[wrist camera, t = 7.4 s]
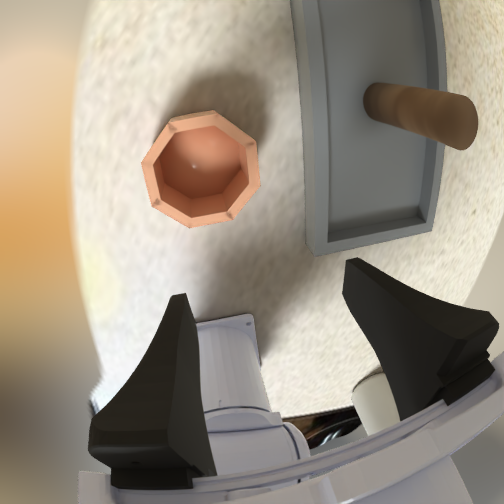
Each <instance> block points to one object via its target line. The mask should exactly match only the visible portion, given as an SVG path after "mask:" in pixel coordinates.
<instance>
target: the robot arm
mask: <svg viewBox="0 0 504 504" xmlns="http://www.w3.org/2000/svg"><path fill="white" fill-rule="evenodd" d="M342 295H343V297H344V299H345V301H346V304H347V306H348V308H349V310H350V312H351V314H352V315H353V317H354V318H355V320H356V322H357V323H358V325H359V326H360V328H361V330H362V331H363V333H364V334H365V336H366V338H367V339H368V341H369V342H370V344H371V346H372V347H373V349H374V351H375V353H376V355H377V357H378V359H379V361H380V364H381V366H382V368H383V370H384V373H385V375H386V378H387V380H388V383H389V386H390V389H391V391H392V394H393V397H394V400H395V404H396V407H397V411H398V414H399V418H400V422H399V423H396V424H394V425H392V426H390V427H388V428H386V429H383V430H381V431H379V432H377V433H374V434H372V435H369V436H367V437H365V438H362V439H360V440H357V441H354V442H352V443H349V444H346V445H344V446H341V447H338V448H335V449H332V450H329V451H326V452H323V453H320V454H317V455H313V456H310V451H309V447H308V444H307V442H306V440H305V438H304V436H303V434H302V433H301V432H300V431H299V430H298V429H297V428H296V427H295V426H294V425H293V424H291V423H289V422H284V423H283V422H282V419H281V415H280V413H279V412H272V411H271V407H270V404H269V400H268V397H267V393H266V389H265V386H264V382H263V378H262V375H261V367H260V360H259V353H258V346H257V339H256V332H255V325H254V318H253V315H252V314H243V315H238V316H233V317H228V318H223V319H218V320H213V321H207V322H202V323H195V320H194V317H193V314H192V311H191V308H190V305H189V301H188V298H187V295H186V293H183V294H178V295H172V296H171V298H170V300H169V303H168V306H167V308H166V311H165V313H164V316H163V318H162V321H161V323H160V325H159V327H158V329H157V332H156V334H155V336H154V338H153V340H152V342H151V344H150V346H149V348H148V349H147V351H146V353H145V355H144V356H143V358H142V360H141V361H140V363H139V365H138V366H137V368H136V369H135V371H134V372H133V373H132V375H131V376H130V378H129V379H128V380H127V382H126V383H125V384H124V386H123V387H122V388H121V389H120V390H119V391H118V393H117V394H116V395H115V396H114V397H113V398H112V400H111V401H110V402H109V403H108V404H107V405H106V406H105V407H104V408H103V409H102V410H100V411H99V412H98V413H97V414H96V415H95V416H94V417H93V418H92V420H91V425H90V430H89V442H88V451H89V453H90V454H91V456H93V457H94V458H95V459H97V460H98V461H100V462H102V463H104V464H105V465H107V466H108V467H110V468H111V475H109V474H106V473H99V472H88V471H79V475H78V476H79V477H78V478H79V479H78V504H473V502H472V500H471V498H470V495H469V493H468V491H467V489H466V487H465V485H464V483H463V481H462V479H461V477H460V475H459V472H458V471H457V468H456V466H455V464H454V463H453V461H452V459H451V457H450V455H451V454H453V453H454V452H455V451H457V450H458V449H460V448H461V447H463V446H464V445H465V444H466V443H468V442H469V441H471V440H472V439H473V438H475V437H476V436H477V435H478V434H480V433H481V432H482V431H483V430H485V429H486V428H487V427H488V426H489V425H491V424H492V423H493V422H494V421H495V420H496V419H498V418H499V417H500V416H501V415H502V414H503V413H504V352H502V353H501V354H500V355H499V356H497V357H496V358H495V359H494V360H493V361H492V362H491V363H490V361H489V360H488V358H489V356H490V354H489V353H488V352H487V348H488V347H489V345H490V344H491V342H492V341H493V339H494V337H495V336H496V334H497V331H498V329H499V323H498V322H497V321H496V319H495V318H494V317H493V316H492V315H491V314H490V312H488V311H482V310H476V309H470V308H466V307H462V306H458V305H454V304H451V303H448V302H445V301H442V300H439V299H436V298H433V297H431V296H429V295H426V294H424V293H422V292H419V291H417V290H415V289H413V288H411V287H409V286H407V285H405V284H403V283H402V282H400V281H398V280H396V279H394V278H393V277H391V276H389V275H387V274H386V273H384V272H382V271H381V270H379V269H377V268H376V267H374V266H372V265H371V264H369V263H367V262H365V261H364V260H362V259H360V258H358V257H357V258H353V259H348V260H346V265H345V274H344V283H343V291H342ZM247 322H249V323H247ZM386 447H387V448H386ZM363 457H364V458H363ZM358 459H359V460H358ZM353 461H354V462H353ZM348 463H349V464H348ZM345 464H347V465H345ZM343 465H344V466H343ZM340 466H342V467H340ZM337 467H339V468H337ZM334 468H337V469H336V470H333V471H331V472H329V473H327V474H324V475H322V476H319V477H316V478H313V479H310V480H309V478H310V476H312V475H315V474H318V473H322V472H325V471H328V470H331V469H334Z"/></svg>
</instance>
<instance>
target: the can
mask: <svg viewBox="0 0 504 504" xmlns="http://www.w3.org/2000/svg"><path fill="white" fill-rule="evenodd" d="M351 400H352V402H353V404H354V406H355V408H356V411H357V413H358V415H359V417H360V419H361V421H362V424H363V426H364V428H365V430H366V432H367V434H368V436H369V435H372V434H374V433H377V432H379V431H381V430H383V429H386V428H388V427H390V426H392V425H394V424H396V423H399V422H400V418H399V414H398V411H397V407H396V404H395V400H394V397H393V394H392V391H391V389H390V386H389V383H388V380H387V378H386V375H385V374H384V373H379V374H375V375H373V376H371V377H369V378H367V379H365V380H364V381H362V382H361V383H360V384H358V385H357V387H356V388H355V389H354V392H353V394H352V396H351ZM386 448H387V447H386Z"/></svg>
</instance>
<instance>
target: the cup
mask: <svg viewBox="0 0 504 504" xmlns="http://www.w3.org/2000/svg"><path fill="white" fill-rule="evenodd" d="M141 165H142V169H143V173H144V178H145V182H146V186H147V190H148V194H149V198H150V202H151V205H152V207H154V208H156V209H157V210H159V211H161V212H162V213H164V214H166V215H167V216H169V217H171V218H173V219H174V220H176V221H178V222H179V223H181V224H183V225H185V226H186V227H188V228H193V227H198V226H203V225H208V224H214V223H219V222H224V221H230V220H233V219H234V218H235V216H236V215H237V214H238V213H239V212H240V210H241V209H242V208H243V207H244V205H245V204H246V203H247V202H248V200H249V199H250V198H251V197H252V195H253V194H254V193H255V192H256V191H257V189H258V188H259V187H260V186H261V185H260V176H259V166H258V156H257V146H256V141H255V140H254V139H253V138H251V137H250V136H249V135H248V134H246V133H245V132H244V131H242V130H241V129H239V128H238V127H237V126H235V125H234V124H233V123H231V122H230V121H229V120H227V119H226V118H224V117H223V116H221V115H220V114H219V113H217V112H216V111H215V110H211V111H205V112H197V113H191V114H187V115H183V116H178V117H173V118H171V119H170V121H169V122H168V124H167V125H166V126H165V128H164V129H163V131H162V132H161V134H160V135H159V136H158V138H157V139H156V141H155V142H154V144H153V145H152V147H151V148H150V150H149V151H148V153H147V154H146V156H145V157H144V159H143V161H142V162H141Z"/></svg>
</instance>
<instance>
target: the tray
mask: <svg viewBox="0 0 504 504" xmlns="http://www.w3.org/2000/svg"><path fill="white" fill-rule="evenodd" d="M290 5H291V12H292V20H293V29H294V38H295V47H296V57H297V67H298V78H299V90H300V104H301V119H302V136H303V156H304V182H305V236H306V245H307V246H308V248H309V249H310V251H311V252H312V254H313V255H314V257H316V256H321V255H326V254H331V253H335V252H340V251H345V250H349V249H354V248H359V247H363V246H368V245H372V244H377V243H381V242H386V241H390V240H395V239H399V238H404V237H408V236H413V235H417V234H422V233H426V232H430V231H432V227H433V223H434V218H435V213H436V207H437V201H438V196H439V189H440V183H441V175H442V167H443V159H444V149H445V144H443V143H440V142H438V141H435V140H432V139H430V138H427V137H424V136H422V135H419V134H416V133H413V132H410V131H407V130H404V129H401V128H398V127H395V126H391V125H388V124H385V123H382V122H378V121H375V120H373V119H371V118H370V117H369V116H368V115H367V113H366V111H365V109H364V105H363V96H364V93H365V91H366V89H367V88H368V87H369V86H370V85H371V84H373V83H389V84H398V85H406V86H414V87H421V88H427V89H433V90H438V91H444V92H447V68H446V52H445V40H444V31H443V23H442V16H441V9H440V3H439V0H290Z"/></svg>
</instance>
